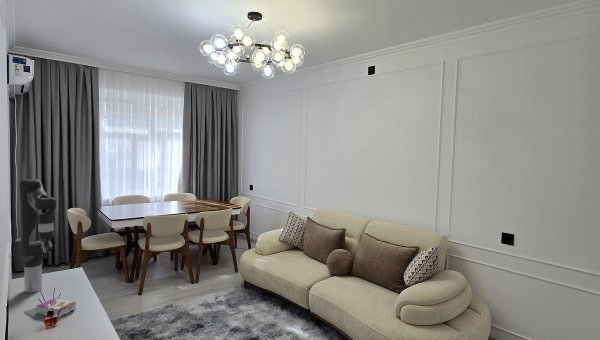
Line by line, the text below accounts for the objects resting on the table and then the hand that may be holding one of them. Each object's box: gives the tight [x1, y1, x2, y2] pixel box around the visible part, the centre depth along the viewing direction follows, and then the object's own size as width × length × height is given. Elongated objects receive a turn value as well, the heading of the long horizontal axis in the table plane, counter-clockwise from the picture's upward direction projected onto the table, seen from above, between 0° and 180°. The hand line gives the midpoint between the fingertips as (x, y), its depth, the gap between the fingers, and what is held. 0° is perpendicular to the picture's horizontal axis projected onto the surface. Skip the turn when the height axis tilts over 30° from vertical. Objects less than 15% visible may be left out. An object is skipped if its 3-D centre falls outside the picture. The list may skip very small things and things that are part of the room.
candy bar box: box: [35, 297, 77, 318], centre depth 193 cm, size 11×5×16 cm
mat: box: [24, 307, 45, 321], centre depth 194 cm, size 16×14×1 cm
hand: (46, 257), depth 201 cm, fingers closed
